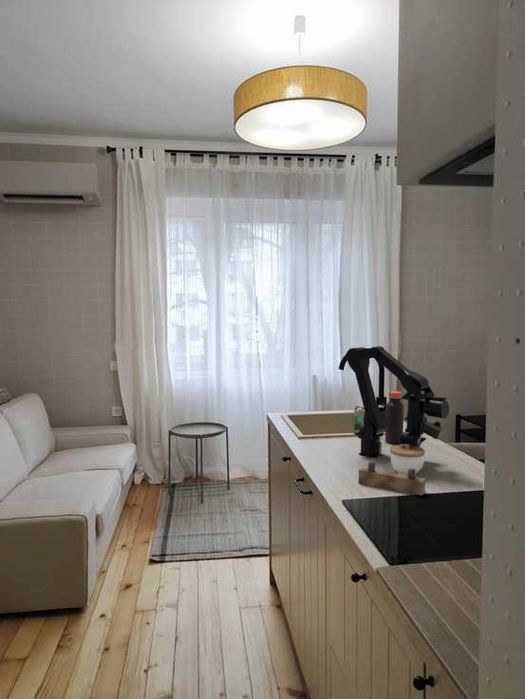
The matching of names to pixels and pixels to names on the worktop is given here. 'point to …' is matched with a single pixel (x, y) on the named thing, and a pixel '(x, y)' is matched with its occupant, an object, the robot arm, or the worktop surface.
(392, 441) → the bottle
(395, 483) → the stop bar
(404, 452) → the lidded jar
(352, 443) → the worktop surface
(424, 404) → the robot arm
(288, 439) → the worktop surface
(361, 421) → the food container
